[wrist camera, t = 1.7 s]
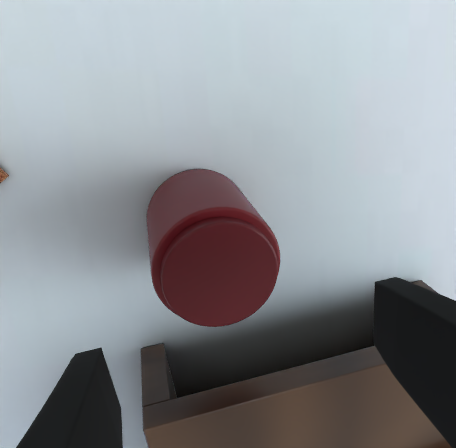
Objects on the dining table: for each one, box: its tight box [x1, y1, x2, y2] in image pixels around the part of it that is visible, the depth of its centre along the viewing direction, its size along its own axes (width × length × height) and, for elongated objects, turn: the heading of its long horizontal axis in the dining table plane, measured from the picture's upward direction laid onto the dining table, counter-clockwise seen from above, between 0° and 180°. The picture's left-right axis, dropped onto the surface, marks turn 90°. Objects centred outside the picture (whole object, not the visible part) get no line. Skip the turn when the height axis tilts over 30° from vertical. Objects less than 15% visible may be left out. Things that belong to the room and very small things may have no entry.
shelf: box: [141, 280, 452, 448], centre depth 21 cm, size 16×9×6 cm, turn 98°
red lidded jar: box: [147, 169, 280, 327], centre depth 16 cm, size 5×5×6 cm
